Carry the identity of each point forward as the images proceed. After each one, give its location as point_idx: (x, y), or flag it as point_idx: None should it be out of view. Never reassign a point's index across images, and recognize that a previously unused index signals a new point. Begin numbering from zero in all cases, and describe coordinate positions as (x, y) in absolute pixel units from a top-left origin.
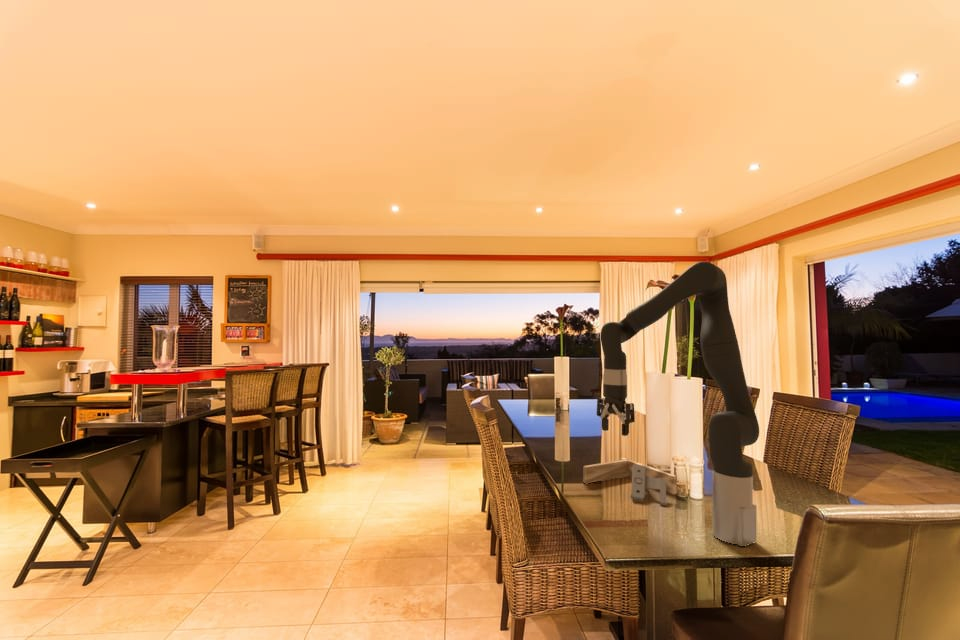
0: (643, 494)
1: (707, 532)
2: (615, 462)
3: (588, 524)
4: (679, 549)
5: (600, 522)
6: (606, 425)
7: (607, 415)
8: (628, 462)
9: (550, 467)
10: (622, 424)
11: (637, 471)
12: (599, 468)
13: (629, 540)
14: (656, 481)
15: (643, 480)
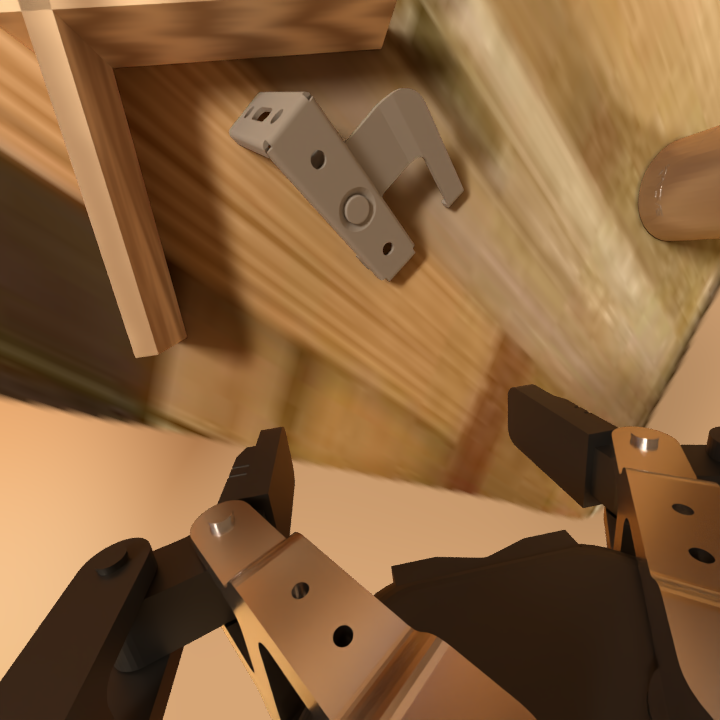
0: (407, 240)
1: (628, 229)
2: (88, 133)
3: (464, 488)
4: (638, 371)
5: (466, 457)
6: (283, 474)
7: (256, 550)
8: (68, 15)
9: None
10: (589, 500)
11: (317, 170)
12: (140, 267)
13: None
14: (389, 125)
15: (368, 189)
